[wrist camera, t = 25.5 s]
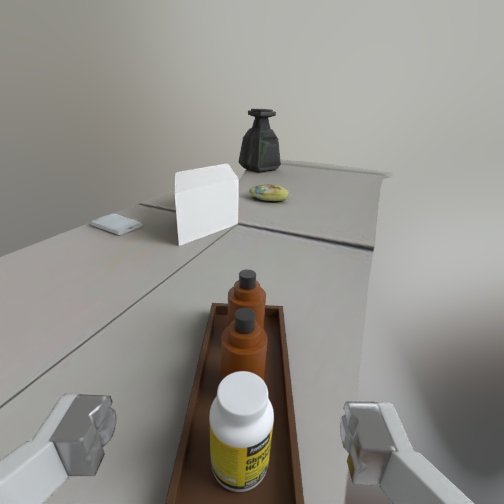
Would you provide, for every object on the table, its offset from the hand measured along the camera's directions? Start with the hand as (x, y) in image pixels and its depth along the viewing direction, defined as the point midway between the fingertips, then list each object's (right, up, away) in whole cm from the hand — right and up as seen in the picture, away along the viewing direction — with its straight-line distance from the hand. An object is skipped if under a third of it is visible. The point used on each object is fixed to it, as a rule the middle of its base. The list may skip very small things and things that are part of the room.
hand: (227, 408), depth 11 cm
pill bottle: (0, -17, +22) cm, 28 cm away
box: (-13, +15, +86) cm, 88 cm away
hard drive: (-39, +13, +79) cm, 89 cm away
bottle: (+5, +51, +157) cm, 166 cm away
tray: (0, -13, +30) cm, 33 cm away
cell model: (+8, +26, +107) cm, 111 cm away
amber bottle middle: (0, -13, +30) cm, 33 cm away
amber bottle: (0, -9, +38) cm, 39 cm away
